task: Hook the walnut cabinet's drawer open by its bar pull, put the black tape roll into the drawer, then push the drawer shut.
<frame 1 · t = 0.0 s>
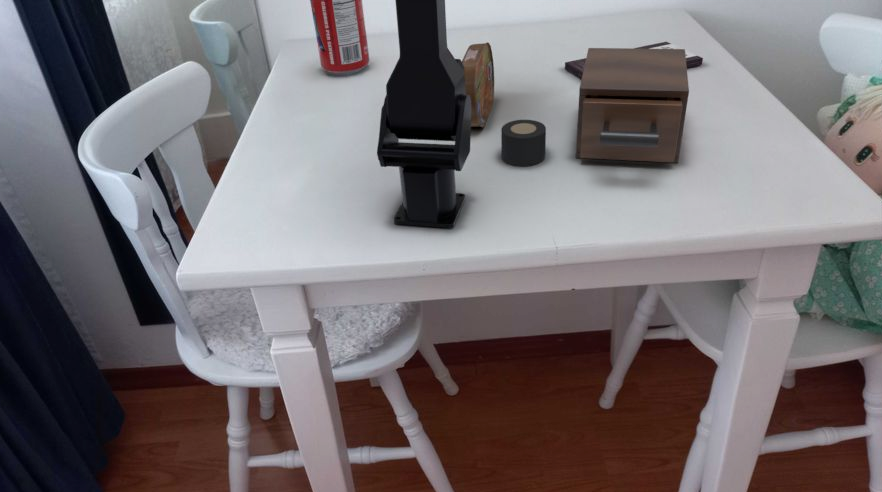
cabinet: (627, 135, 86), on the table
tape: (523, 156, 84), on the table
drawer: (630, 117, 81), point 4 cm above the table, slide at 0.5 cm
tin: (477, 115, 95), on the table
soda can: (346, 69, 113), on the table
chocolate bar: (632, 67, 105), on the table
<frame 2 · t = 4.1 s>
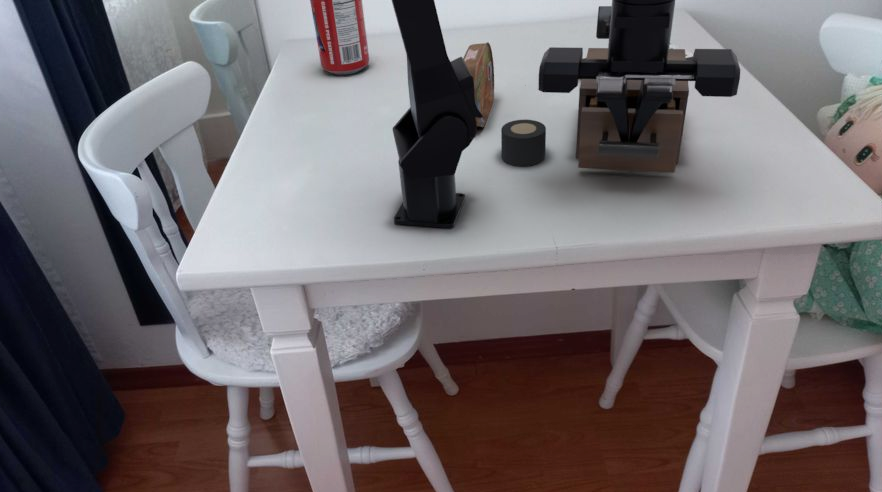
hand: (627, 149, 74), 4 cm above the table, tool pointing down, fingers closed, pressing on drawer
drawer: (629, 126, 79), point 4 cm above the table, slide at 3.0 cm, touching gripper
everything else where it was.
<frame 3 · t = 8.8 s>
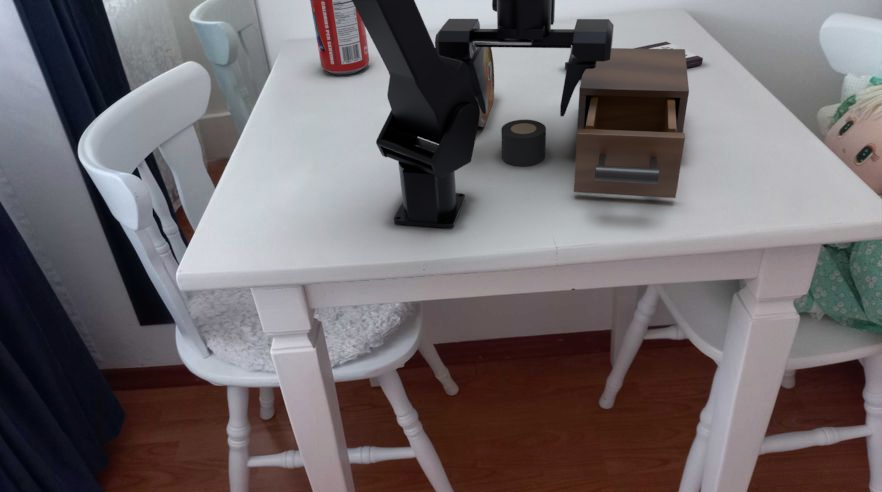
hand: (523, 113, 81), 5 cm above the table, tool pointing down, fingers open, 9 cm apart
drawer: (628, 148, 74), point 4 cm above the table, slide at 8.6 cm
everything else where it was.
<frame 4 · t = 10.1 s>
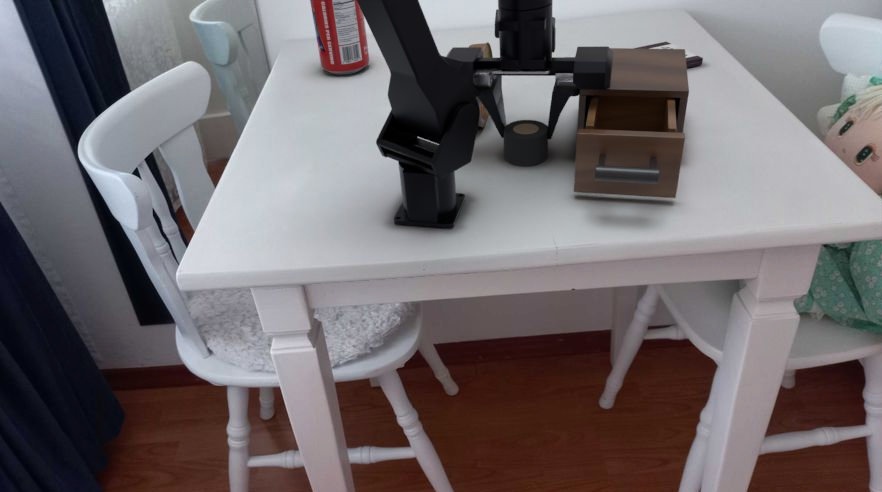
hand: (526, 137, 83), 2 cm above the table, tool pointing down, fingers closed on tape, 5 cm apart
tape: (525, 156, 84), on the table, touching gripper
everything else where it was.
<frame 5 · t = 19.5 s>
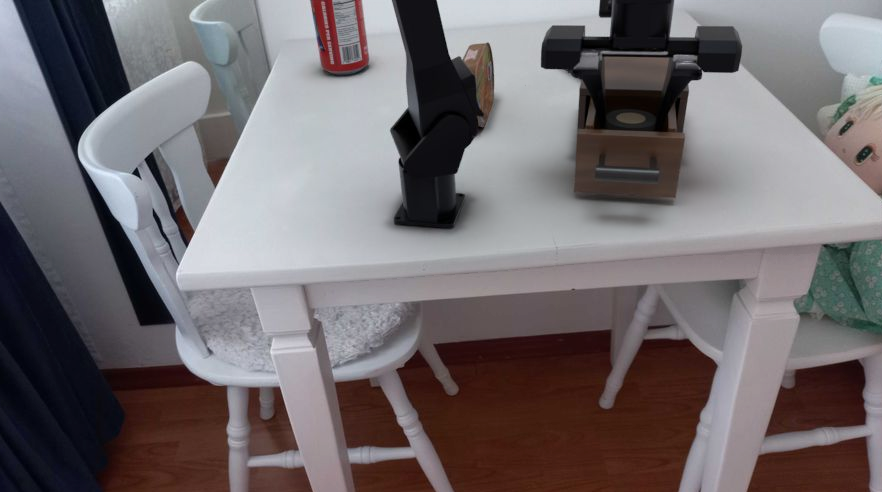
hand: (629, 128, 74), 6 cm above the table, tool pointing down, fingers closed on tape, 5 cm apart
tape: (626, 149, 75), point 4 cm above the table, touching gripper
drawer: (628, 148, 74), point 4 cm above the table, slide at 8.6 cm, touching gripper
everything else where it was.
when the fingers open (8 cm above the table, at t = 25.8 s): tape drops 4 cm, resting on drawer.
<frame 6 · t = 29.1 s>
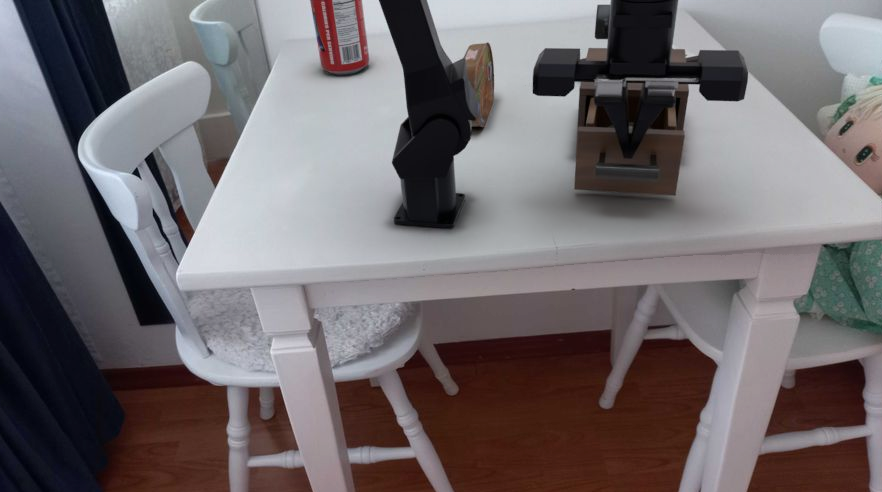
hand: (627, 156, 70), 6 cm above the table, tool pointing down, fingers closed
tape: (626, 162, 77), point 2 cm above the table, touching drawer
drawer: (628, 145, 75), point 4 cm above the table, slide at 8.0 cm, touching gripper, tape
everything else where it was.
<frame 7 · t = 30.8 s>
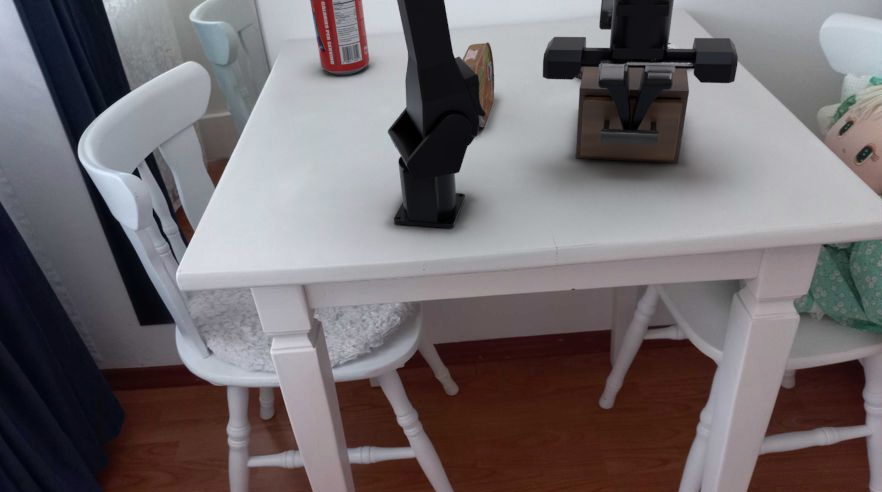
hand: (629, 136, 76), 4 cm above the table, tool pointing down, fingers closed, pressing on drawer
tape: (628, 131, 83), point 2 cm above the table, touching drawer
drawer: (630, 115, 81), point 4 cm above the table, slide at 0.0 cm, touching cabinet, gripper, tape
everything else where it was.
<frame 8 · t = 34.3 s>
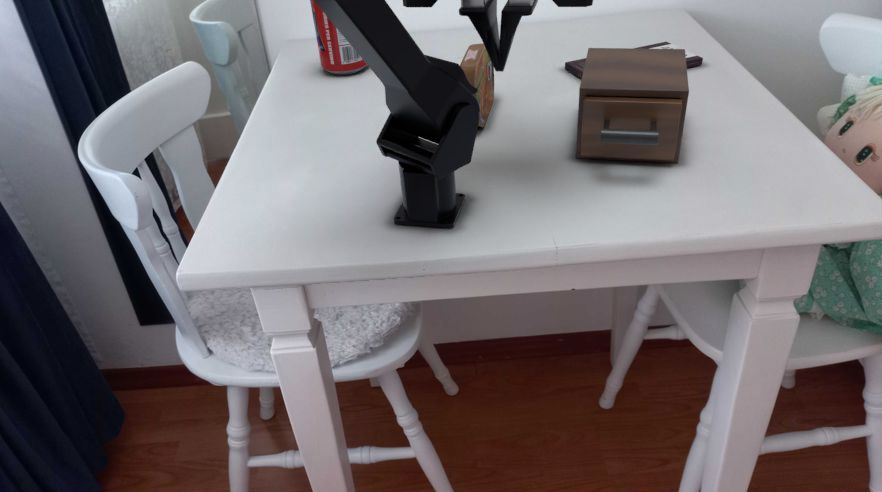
hand: (500, 70, 74), 12 cm above the table, tool pointing down, fingers closed
drawer: (630, 115, 81), point 4 cm above the table, slide at 0.0 cm, touching cabinet, tape
everything else where it was.
at the end: drawer pulled out 8.6 cm at the most during the clip, back to where it started at the end; tape inside the target area in the cabinet (3.2 cm from its centre), point 2.0 cm above the cabinet's base; drawer slide at 0.0 cm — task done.
